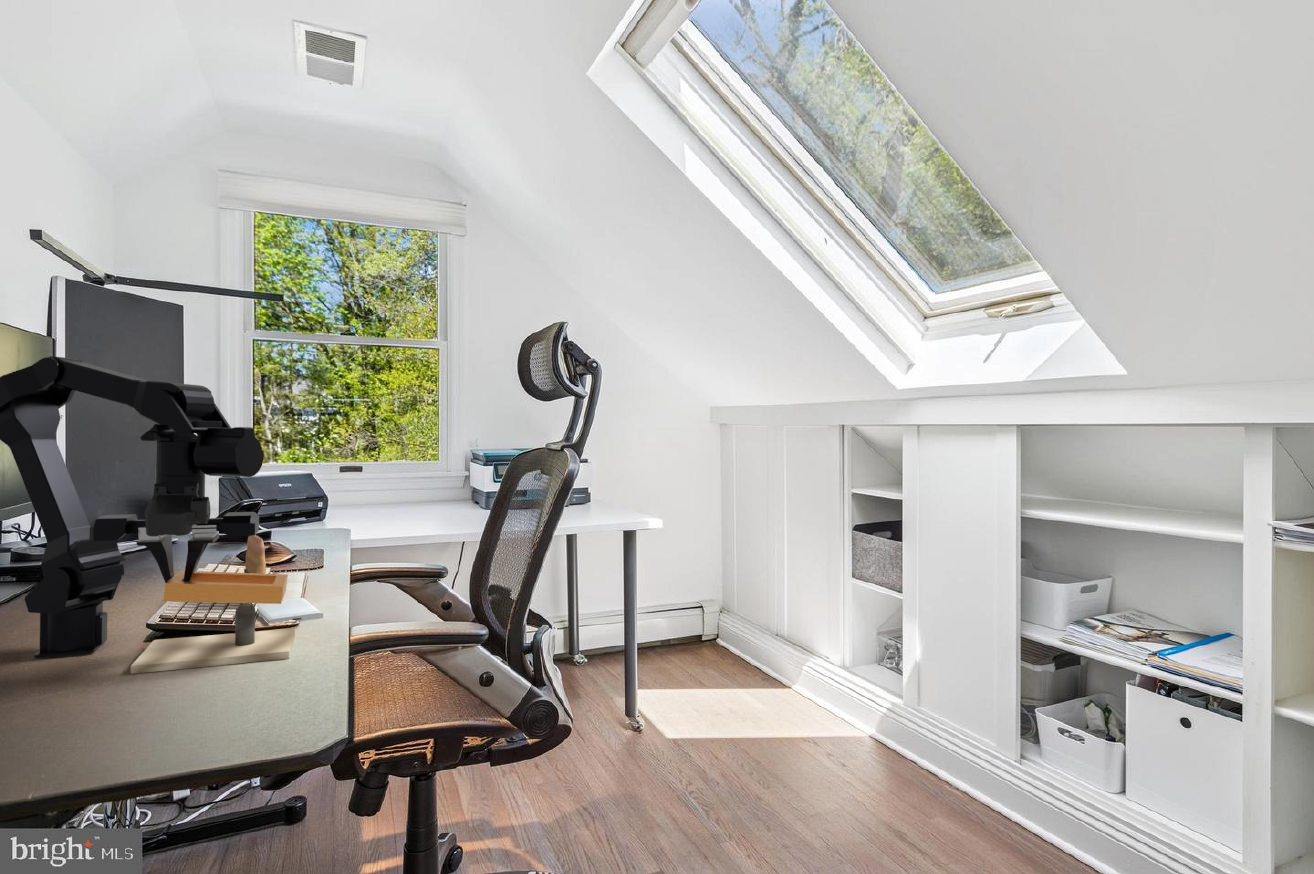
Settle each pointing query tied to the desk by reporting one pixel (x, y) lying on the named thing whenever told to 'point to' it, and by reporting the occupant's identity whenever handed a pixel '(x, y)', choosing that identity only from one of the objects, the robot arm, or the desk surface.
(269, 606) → the hard drive
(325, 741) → the desk surface
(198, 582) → the shallow wooden tray
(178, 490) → the robot arm
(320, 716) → the desk surface
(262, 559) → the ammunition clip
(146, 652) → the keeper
